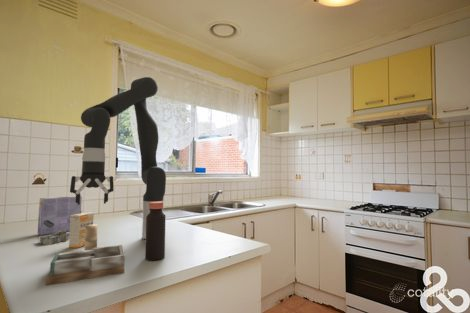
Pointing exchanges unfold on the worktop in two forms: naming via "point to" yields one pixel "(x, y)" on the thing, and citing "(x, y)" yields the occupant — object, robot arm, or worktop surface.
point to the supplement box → (79, 228)
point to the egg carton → (55, 237)
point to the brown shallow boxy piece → (86, 264)
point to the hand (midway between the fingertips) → (92, 203)
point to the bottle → (155, 232)
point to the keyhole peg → (90, 236)
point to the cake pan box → (56, 214)
